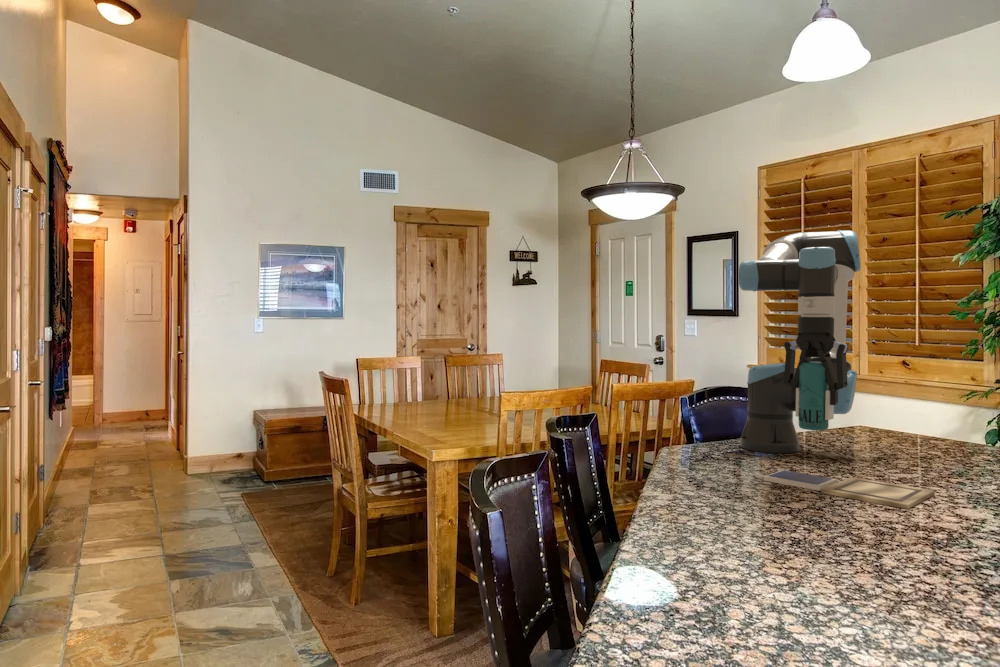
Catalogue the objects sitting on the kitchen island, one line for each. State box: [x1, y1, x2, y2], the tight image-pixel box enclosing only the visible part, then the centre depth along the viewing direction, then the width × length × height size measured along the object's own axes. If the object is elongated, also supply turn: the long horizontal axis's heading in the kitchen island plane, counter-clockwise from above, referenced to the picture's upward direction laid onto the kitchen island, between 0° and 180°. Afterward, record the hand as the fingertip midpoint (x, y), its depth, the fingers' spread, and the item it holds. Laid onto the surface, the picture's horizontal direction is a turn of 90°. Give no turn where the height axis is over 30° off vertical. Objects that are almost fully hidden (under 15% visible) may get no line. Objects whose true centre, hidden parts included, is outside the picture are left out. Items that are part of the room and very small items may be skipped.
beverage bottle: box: [797, 348, 829, 431], centre depth 159 cm, size 6×7×20 cm
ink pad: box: [763, 469, 838, 492], centre depth 152 cm, size 12×9×1 cm
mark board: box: [820, 476, 935, 510], centre depth 143 cm, size 16×16×1 cm
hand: (814, 417), depth 159 cm, fingers closed on beverage bottle, 6 cm apart
